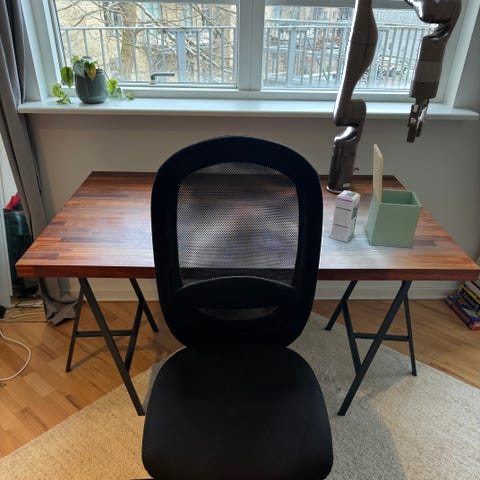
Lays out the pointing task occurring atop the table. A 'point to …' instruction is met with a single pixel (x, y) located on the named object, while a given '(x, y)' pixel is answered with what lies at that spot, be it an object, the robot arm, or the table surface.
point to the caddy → (393, 218)
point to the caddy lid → (377, 172)
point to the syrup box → (345, 215)
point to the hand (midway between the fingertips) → (413, 139)
